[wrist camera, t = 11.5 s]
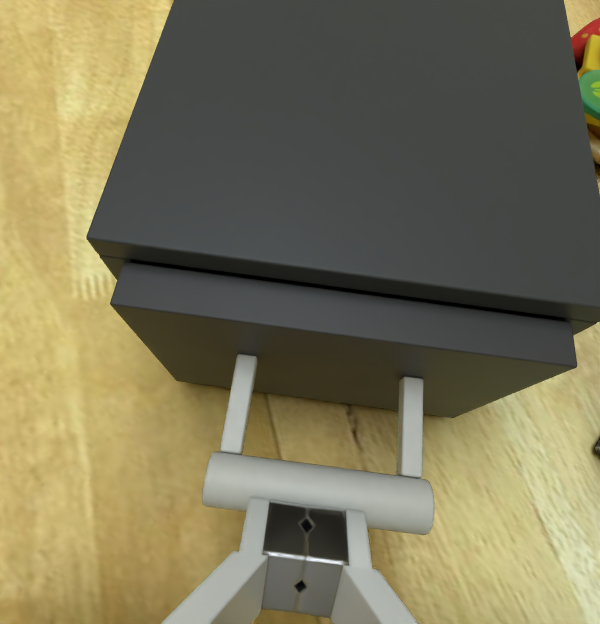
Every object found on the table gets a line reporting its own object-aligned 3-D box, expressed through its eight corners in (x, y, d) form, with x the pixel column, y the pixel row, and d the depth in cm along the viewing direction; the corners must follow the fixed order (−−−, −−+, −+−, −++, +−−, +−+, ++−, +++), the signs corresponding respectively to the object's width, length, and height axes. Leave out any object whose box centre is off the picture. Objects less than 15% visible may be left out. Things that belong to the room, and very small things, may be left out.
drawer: (455, 532, 16) (605, 566, 9) (149, 492, 16) (47, 493, 9) (449, 160, 23) (530, 8, 16) (235, 131, 23) (218, -35, 16)
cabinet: (458, 395, 19) (622, 310, 10) (173, 357, 19) (84, 238, 10) (453, 142, 25) (554, -55, 16) (233, 111, 24) (211, -104, 16)
